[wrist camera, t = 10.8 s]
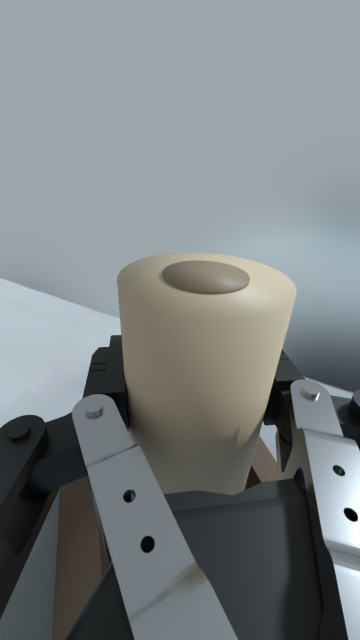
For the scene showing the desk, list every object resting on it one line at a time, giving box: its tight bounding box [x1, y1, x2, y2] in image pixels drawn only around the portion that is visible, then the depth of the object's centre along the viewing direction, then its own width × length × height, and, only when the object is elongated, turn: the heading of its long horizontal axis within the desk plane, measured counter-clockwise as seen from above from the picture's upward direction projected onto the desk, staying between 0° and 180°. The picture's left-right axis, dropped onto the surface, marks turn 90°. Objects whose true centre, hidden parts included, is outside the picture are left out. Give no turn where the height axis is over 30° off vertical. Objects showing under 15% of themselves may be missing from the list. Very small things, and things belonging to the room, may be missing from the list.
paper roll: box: [117, 253, 297, 495], centre depth 11 cm, size 5×5×11 cm
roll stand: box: [53, 436, 278, 640], centre depth 15 cm, size 14×14×4 cm
